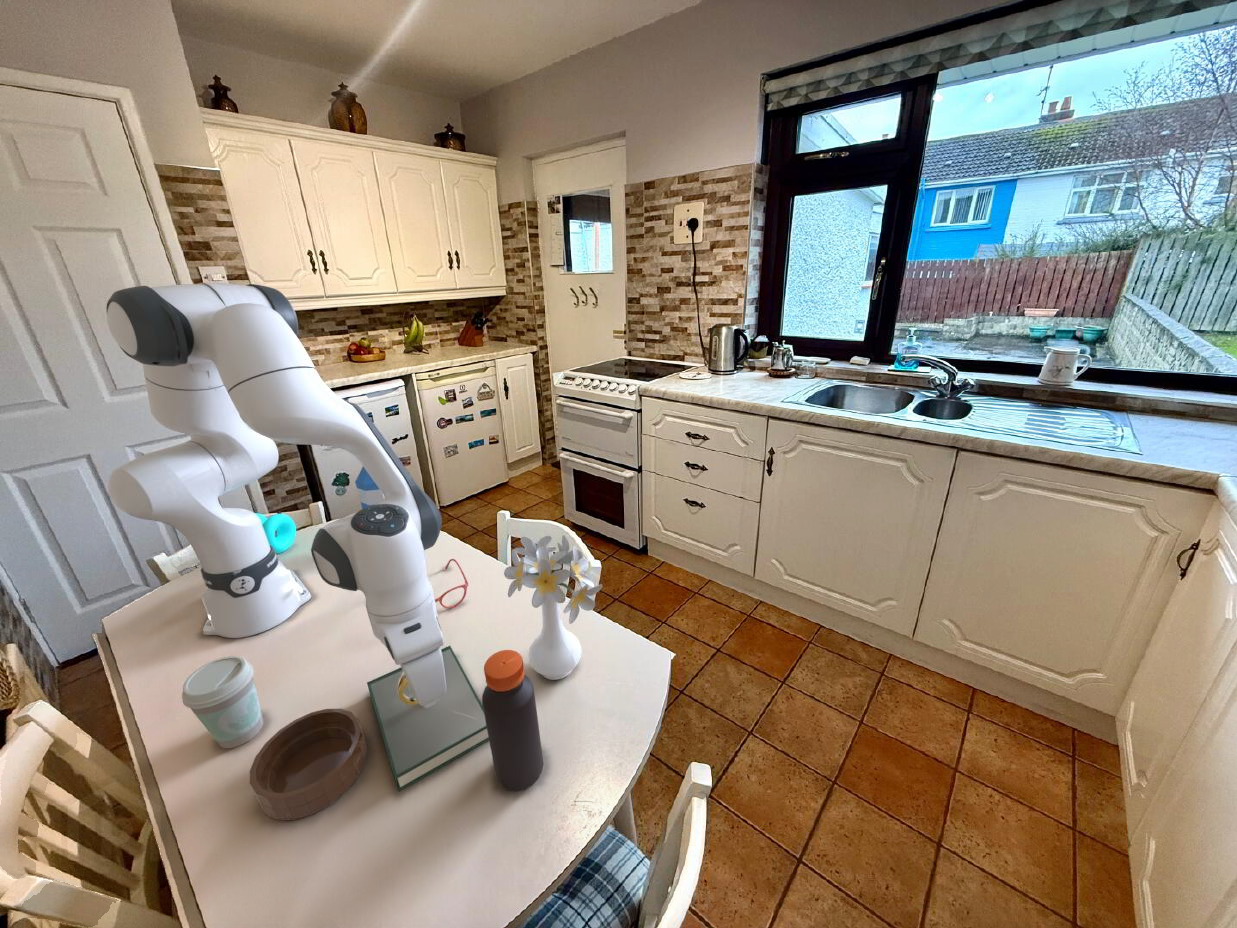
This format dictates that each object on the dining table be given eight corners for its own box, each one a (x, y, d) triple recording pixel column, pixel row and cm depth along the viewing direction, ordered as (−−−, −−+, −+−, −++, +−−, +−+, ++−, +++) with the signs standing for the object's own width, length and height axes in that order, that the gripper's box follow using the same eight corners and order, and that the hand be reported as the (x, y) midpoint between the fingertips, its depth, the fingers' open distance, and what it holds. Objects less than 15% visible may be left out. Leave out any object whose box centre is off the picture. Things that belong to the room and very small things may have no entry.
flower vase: (576, 718, 77) (566, 590, 67) (498, 667, 87) (479, 549, 77) (623, 666, 87) (620, 547, 77) (548, 625, 97) (536, 516, 87)
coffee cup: (222, 767, 71) (191, 708, 66) (197, 740, 75) (167, 682, 71) (284, 723, 78) (260, 666, 73) (258, 700, 82) (234, 645, 77)
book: (370, 695, 82) (366, 682, 81) (452, 657, 90) (450, 645, 88) (398, 791, 67) (394, 777, 66) (494, 736, 74) (492, 723, 73)
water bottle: (365, 553, 123) (340, 462, 113) (387, 533, 132) (365, 448, 122) (398, 555, 122) (376, 464, 112) (418, 536, 130) (399, 449, 120)
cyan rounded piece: (268, 538, 131) (257, 506, 127) (303, 540, 130) (292, 507, 126) (238, 560, 122) (224, 525, 118) (275, 561, 121) (262, 526, 117)
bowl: (260, 763, 71) (249, 740, 69) (359, 716, 78) (352, 693, 77) (262, 845, 61) (249, 820, 59) (376, 782, 68) (368, 758, 66)
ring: (404, 718, 74) (393, 679, 71) (401, 702, 77) (391, 664, 74) (450, 699, 77) (442, 661, 74) (447, 685, 80) (438, 648, 77)
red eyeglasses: (396, 636, 95) (390, 616, 93) (374, 596, 107) (369, 577, 105) (479, 598, 105) (475, 579, 103) (451, 566, 117) (447, 548, 115)
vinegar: (517, 739, 74) (501, 637, 66) (553, 759, 71) (541, 655, 63) (485, 777, 69) (464, 671, 61) (522, 801, 65) (505, 693, 58)
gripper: (366, 584, 76) (385, 651, 82) (397, 664, 61) (417, 741, 66) (408, 570, 80) (423, 635, 85) (447, 642, 64) (462, 717, 70)
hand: (421, 682), depth 76 cm, fingers open, 8 cm apart
